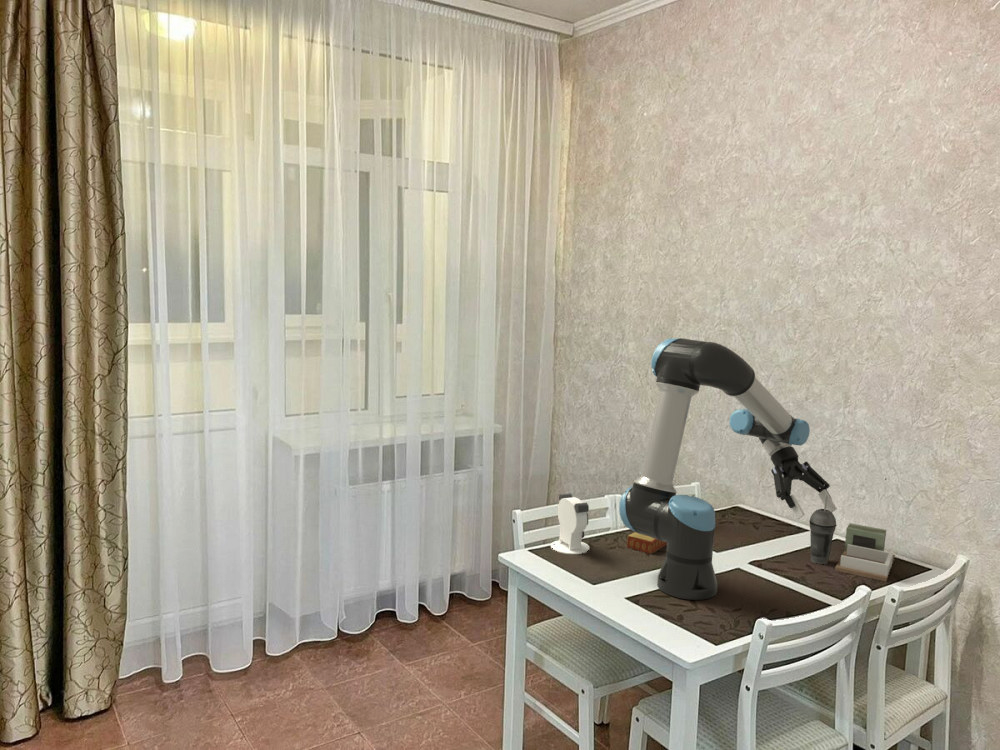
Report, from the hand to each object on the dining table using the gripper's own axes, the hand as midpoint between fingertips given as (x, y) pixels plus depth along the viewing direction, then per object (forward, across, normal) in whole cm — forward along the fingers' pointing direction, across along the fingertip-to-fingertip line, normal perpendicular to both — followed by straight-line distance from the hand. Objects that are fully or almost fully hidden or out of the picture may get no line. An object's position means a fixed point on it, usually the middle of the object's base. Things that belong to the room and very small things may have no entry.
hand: (817, 514), depth 226 cm
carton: (-10, +37, -30) cm, 49 cm away
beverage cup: (+12, +1, -7) cm, 14 cm away
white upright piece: (-15, +62, -34) cm, 72 cm away
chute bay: (+18, -7, -1) cm, 19 cm away
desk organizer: (+16, -10, -2) cm, 19 cm away
